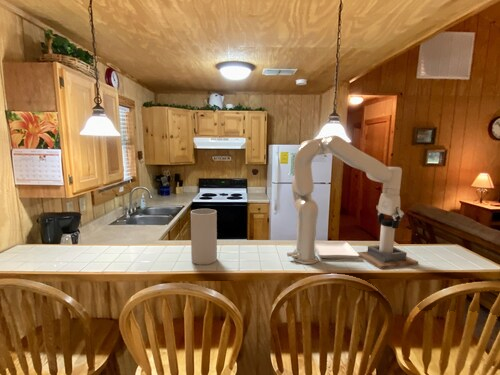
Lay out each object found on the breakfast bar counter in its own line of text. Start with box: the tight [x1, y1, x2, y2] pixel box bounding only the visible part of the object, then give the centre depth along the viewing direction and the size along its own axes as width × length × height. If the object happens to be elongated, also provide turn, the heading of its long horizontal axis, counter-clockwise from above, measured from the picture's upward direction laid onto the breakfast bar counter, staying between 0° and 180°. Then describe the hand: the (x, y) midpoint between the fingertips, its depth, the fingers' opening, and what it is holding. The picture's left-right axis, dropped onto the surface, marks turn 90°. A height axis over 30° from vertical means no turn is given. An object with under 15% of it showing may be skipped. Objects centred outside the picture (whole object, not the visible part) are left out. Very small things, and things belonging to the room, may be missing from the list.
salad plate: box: [315, 240, 360, 260], centre depth 148 cm, size 21×21×3 cm
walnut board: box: [356, 250, 419, 270], centre depth 139 cm, size 22×18×2 cm
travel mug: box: [379, 217, 396, 254], centre depth 138 cm, size 6×7×20 cm
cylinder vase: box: [190, 208, 218, 265], centre depth 135 cm, size 12×12×25 cm
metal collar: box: [367, 244, 407, 263], centre depth 139 cm, size 12×12×4 cm
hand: (387, 225), depth 137 cm, fingers open, 9 cm apart
